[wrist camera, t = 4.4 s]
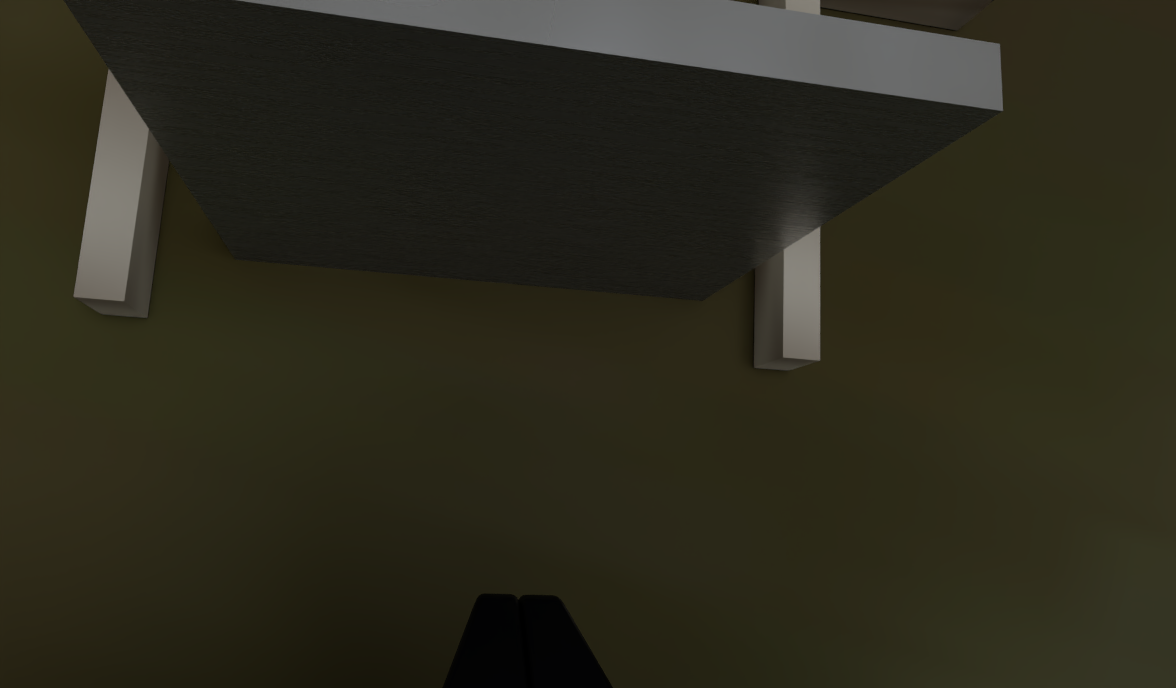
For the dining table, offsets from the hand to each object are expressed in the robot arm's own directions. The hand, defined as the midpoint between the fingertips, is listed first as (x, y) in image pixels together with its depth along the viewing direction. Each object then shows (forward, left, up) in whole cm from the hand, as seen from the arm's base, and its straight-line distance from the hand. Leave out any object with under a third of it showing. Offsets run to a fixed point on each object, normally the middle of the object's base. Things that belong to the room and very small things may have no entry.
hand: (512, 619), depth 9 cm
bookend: (+7, -9, -9) cm, 15 cm away
